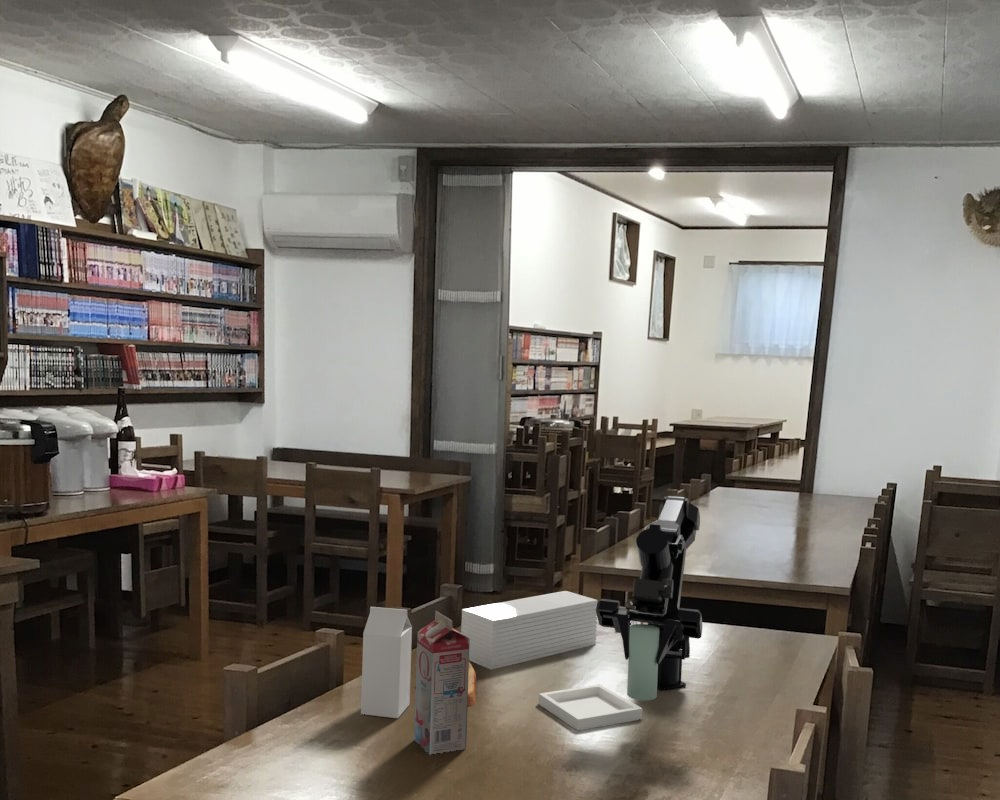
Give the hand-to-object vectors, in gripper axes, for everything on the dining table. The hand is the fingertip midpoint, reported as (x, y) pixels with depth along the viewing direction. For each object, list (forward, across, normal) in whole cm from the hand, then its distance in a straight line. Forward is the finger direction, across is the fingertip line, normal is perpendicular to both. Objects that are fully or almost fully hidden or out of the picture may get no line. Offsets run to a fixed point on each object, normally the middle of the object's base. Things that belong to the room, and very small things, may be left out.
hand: (641, 660), depth 162 cm
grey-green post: (+4, 0, +6) cm, 7 cm away
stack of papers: (-18, -32, +38) cm, 53 cm away
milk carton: (+15, -46, +5) cm, 48 cm away
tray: (+4, -11, +15) cm, 19 cm away
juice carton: (+22, -31, -3) cm, 38 cm away
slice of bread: (+3, -39, +17) cm, 43 cm away
